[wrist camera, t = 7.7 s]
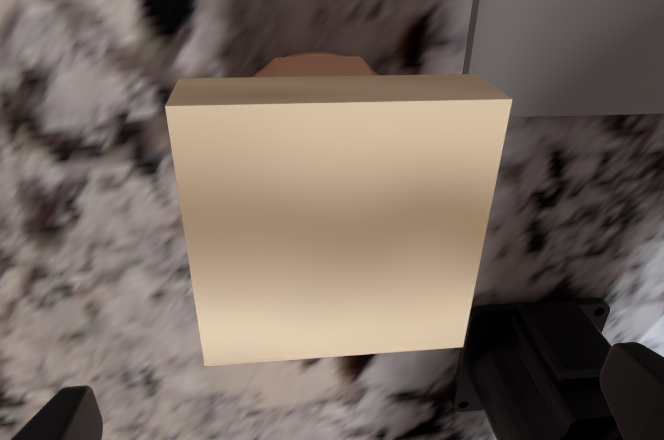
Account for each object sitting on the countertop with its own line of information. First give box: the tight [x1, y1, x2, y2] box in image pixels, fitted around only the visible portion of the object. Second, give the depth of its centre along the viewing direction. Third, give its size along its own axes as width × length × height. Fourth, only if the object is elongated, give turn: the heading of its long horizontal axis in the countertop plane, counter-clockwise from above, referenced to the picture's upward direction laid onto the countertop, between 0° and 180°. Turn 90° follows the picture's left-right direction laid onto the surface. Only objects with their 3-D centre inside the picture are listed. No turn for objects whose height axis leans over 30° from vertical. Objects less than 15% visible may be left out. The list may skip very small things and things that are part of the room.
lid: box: [165, 74, 512, 366], centre depth 13 cm, size 7×7×2 cm
